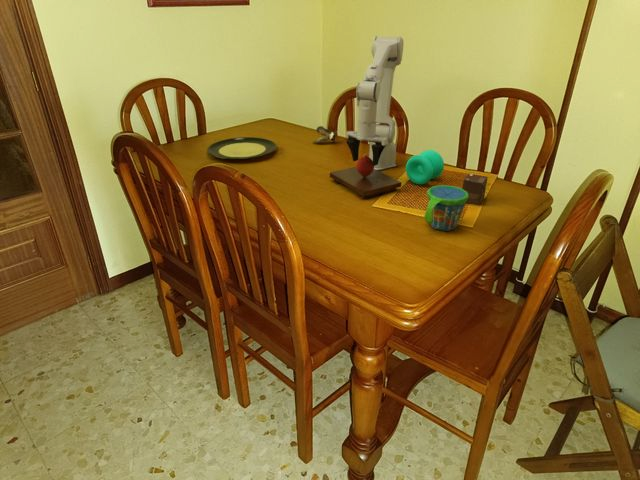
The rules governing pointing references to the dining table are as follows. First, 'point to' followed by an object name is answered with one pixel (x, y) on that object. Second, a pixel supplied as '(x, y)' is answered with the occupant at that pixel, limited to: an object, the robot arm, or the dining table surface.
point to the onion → (365, 166)
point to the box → (475, 188)
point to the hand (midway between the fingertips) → (365, 162)
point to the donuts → (424, 167)
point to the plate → (241, 148)
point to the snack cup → (445, 206)
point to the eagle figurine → (325, 134)
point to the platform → (365, 182)
